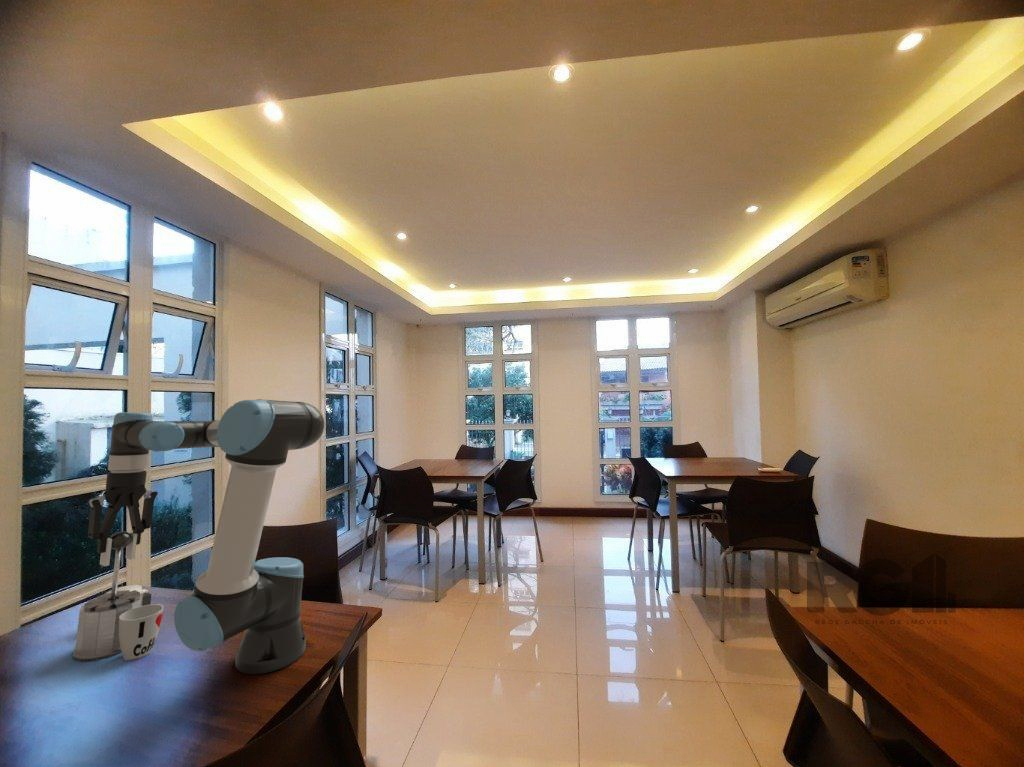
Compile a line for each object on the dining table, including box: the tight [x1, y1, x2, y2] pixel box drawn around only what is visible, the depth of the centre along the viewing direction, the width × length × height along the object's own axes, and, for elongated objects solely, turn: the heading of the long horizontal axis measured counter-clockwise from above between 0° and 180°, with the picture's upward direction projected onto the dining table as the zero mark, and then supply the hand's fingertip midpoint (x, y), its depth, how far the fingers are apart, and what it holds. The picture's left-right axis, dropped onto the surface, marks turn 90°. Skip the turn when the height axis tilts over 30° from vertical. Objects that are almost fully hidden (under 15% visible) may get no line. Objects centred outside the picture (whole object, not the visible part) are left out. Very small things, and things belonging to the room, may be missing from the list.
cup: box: [119, 603, 165, 661], centre depth 98 cm, size 8×8×10 cm
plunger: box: [93, 530, 132, 611], centre depth 101 cm, size 9×9×20 cm
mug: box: [104, 584, 149, 594], centre depth 111 cm, size 8×9×9 cm
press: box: [72, 590, 152, 662], centre depth 101 cm, size 12×14×12 cm
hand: (117, 561), depth 102 cm, fingers closed on plunger, 4 cm apart
